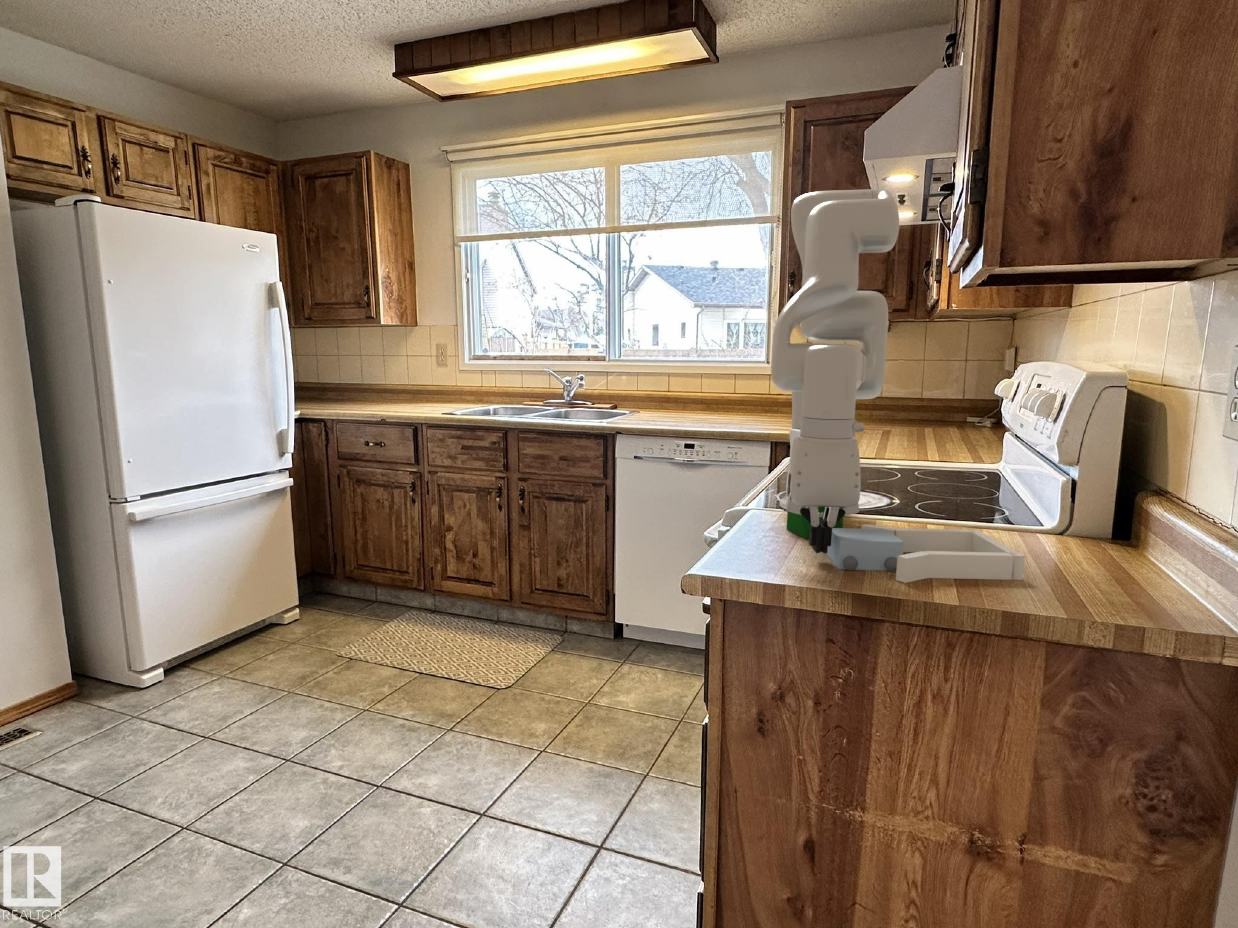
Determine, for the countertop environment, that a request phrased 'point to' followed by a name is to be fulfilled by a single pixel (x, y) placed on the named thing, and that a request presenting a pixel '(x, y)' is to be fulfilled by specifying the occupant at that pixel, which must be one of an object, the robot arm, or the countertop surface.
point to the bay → (953, 555)
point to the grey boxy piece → (864, 549)
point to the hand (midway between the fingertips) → (819, 550)
